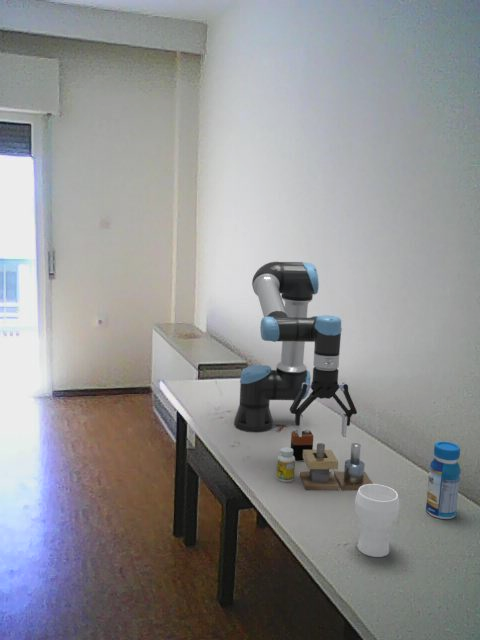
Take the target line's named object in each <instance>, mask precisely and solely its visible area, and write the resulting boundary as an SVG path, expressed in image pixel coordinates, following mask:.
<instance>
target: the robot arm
mask: <svg viewBox="0 0 480 640" xmlns="http://www.w3.org/2000/svg"><path fill="white" fill-rule="evenodd" d="M251 280H252V281H251V285H252V289H253V292H254V294H255V295H256V297H258V302H259V305H260V308H261V312H262V314H263V315H262V316H263V317H262V318H261V320H260V326H259V327H260V338H261V339H262V341H265V342H275V343H276V342H281V355H280V361H279V362H278V363H277V364H276V368H275V369H272V368H271V366H269V365H265V364H264V365H263V364H258V365H256V364H255V365H251V366H247V367H245V368H243V369H242V371H241V372H240V380H239V385H240V387H239V405H238V408H237V410H236V411H237V412H236V414H235V417H234V422H233V424H234V427H235V428H236V429H239V430H242V431H244V432H245V431H246V432H251V433H252V432H253V433H257V432H258V433H259V432H266V431H269V430H271V429H272V428H273V427H274V426H273V425H274V420H273V416H272V411H271V409H270V401H293V402H292V404H291V406H290V408H289V411H290V413H291V414H293V415H294V416H295V417H294V423H295V426H297V430H298V435H299V437H302V431H303V420H304V418H303V417H304V415H303V413H304V412H305V411H306V410H307V408H308V407H310V405H311V404H312V403H313V402H314V401H316V400H317V399H321V400H322V399H327V400H328V399H329V400H330V399H331V398H333V399H334V400H335V401H336V403H337V404H338V405H339V407H340V408H341V409H342V410H343V412H344V413H342V418H341V420H342V422H341V431H340V433H341V435H342V437H343V438H347V427H349V426H350V425H351V417H352V416H353V415H357V414H358V410H357V408H356V406H355V404H354V402H353V399H352V397H351V395H350V393H349V386H348V384H347V383H346V382H342V383H338V382H339V369H338V368H339V365H340V349H341V335H342V330H343V328H342V319H341V318H340V317H339V316H335V315H329V314H328V315H327V314H326V315H325V314H324V315H314V316H310V317H308V306H309V303H310V302H312V301H313V297H314V296H315V295H317V294H318V292H319V288H320V287H319V286H320V285H319V284H320V283H319V275H318V271H317V267H316V266H315V264H313V263H312V262H304V261H271V262H268V263H265V264H264V265H261V267H259V268H258V269H257V270H256V272H255V273H254V274H253V277H252V279H251ZM307 342H308V343H313V342H314V348H313V353H314V354H313V368H312V381H311V373H310V371H309V370H307V369H308V368H307V366H306V365H305V364H304V359H305V358H304V356H305V347H306V346H305V344H306V343H307ZM310 389H311V391H312V392H311V391H310ZM339 389H340V391H342V393H343V395H344V397H345V400H346V402H347V404H348V407H349V409H348V407H347V406H346V405H345V404H344V402H342V401H341V398H340V397H339V396H338V395H337V394H336V393H337V392H338V391H339ZM309 391H310V392H311V393H310V394H309ZM308 395H309V396H308ZM304 399H305V400H304ZM302 400H303V402H302Z"/></svg>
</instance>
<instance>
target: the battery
mask: <svg viewBox="0 0 480 640" xmlns="http://www.w3.org/2000/svg"><path fill="white" fill-rule="evenodd" d="M290 433H291V434H290V435H291V436H290V448H292V449H293V456H294V457H295V462H298V461H304V459H303V450H314V435H313V432H312V431H311V429H308V428H307V429H304V430H302V437H299V435H298V429H295V430H292V431H291V432H290Z"/></svg>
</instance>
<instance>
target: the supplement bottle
mask: <svg viewBox="0 0 480 640" xmlns="http://www.w3.org/2000/svg"><path fill="white" fill-rule="evenodd" d="M279 453H280V454H279V455H278V457H277V468H276V469H277V471H276V473H277V474H276V475H277V476H276V479H277V480H278V481H280V482H284V483H289V482H293V481H294V480H295V472H296V471H295V470H296V468H295V467H296V461H295V457H294V456H293V449H292V448H291V447H286V446H285V447H281V448H280V452H279Z"/></svg>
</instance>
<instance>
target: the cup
mask: <svg viewBox="0 0 480 640" xmlns="http://www.w3.org/2000/svg"><path fill="white" fill-rule="evenodd" d="M354 499H355V500H354V509H355V514H356V518H357V521H358V522H359V526H360V529H359V530H360V535H359V538H358V542H357V549H358V550H359V551H360V552H361V553H362V554H364V555H366V556H369V557H373V558H382V557H385V556H388V555H389V553H390V541H389V537H390V533H391V529H392V528H393V526H394V525H395V524H396V522H397V519H398V517H399V514H400V500H399V494H398V492H397V491H396V490H395V489H393V488H391V487H389V486H386V485H382V484H379V483H373V484H366V485H363V486H361V487H360V488H359V489H358V490H357V493H356V496H355V498H354Z"/></svg>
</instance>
